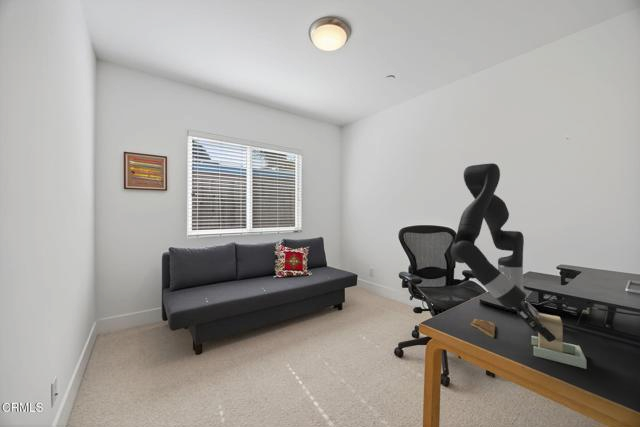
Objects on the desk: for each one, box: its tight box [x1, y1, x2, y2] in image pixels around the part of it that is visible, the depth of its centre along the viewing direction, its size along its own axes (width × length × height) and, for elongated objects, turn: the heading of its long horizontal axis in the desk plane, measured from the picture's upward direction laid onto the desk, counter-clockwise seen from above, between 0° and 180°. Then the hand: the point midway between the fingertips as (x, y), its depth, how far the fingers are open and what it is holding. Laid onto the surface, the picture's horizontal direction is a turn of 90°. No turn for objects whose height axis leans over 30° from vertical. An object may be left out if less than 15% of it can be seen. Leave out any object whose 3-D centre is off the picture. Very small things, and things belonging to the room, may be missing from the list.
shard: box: [470, 318, 496, 338], centre depth 92 cm, size 11×8×2 cm
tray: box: [531, 335, 587, 370], centre depth 76 cm, size 8×11×2 cm
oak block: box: [537, 312, 564, 353], centre depth 76 cm, size 5×5×11 cm
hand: (550, 334), depth 76 cm, fingers open, 8 cm apart
